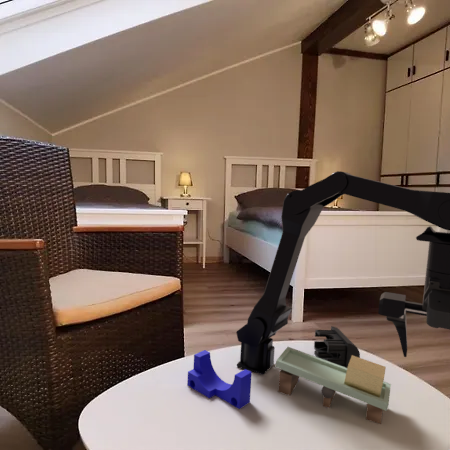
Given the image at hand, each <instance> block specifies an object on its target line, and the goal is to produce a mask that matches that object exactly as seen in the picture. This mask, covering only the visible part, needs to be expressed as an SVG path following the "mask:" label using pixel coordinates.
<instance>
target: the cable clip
mask: <svg viewBox="0 0 450 450" xmlns="http://www.w3.org/2000/svg"><path fill="white" fill-rule="evenodd" d="M252 373H253V371H249V370H246V369H243V370H241V371H240V372H237V373H236V374H234V378H233V381H232V384H231V383H228V382H226V381H224V380H223V379H222V378H221V377H220V376H219V375H218V374H217V373H216V370H215V369H214V366H213V364H212V360H211V351H208V350H206V349H204V350H202V351H199V352H197V353H195V354H194V355H193V369H191V370H189V371H187V383H186V384H187V385H188V387H189V386H190V389H193V391H196V392H198V393H199V394H201V395H202V396H205V397H206V398H208V399H211V398H213V397H214V396H216V397H217V398H219V399H221V400H223V401H225V402H226V403H228V404H230V405H231V406H233V407H235V408H236V409H238V410H240V409H242V408H244V407H245V406H247V405H248V404H249V403H251V393H252V391H251V388H252V376H253V374H252ZM187 385H186V386H187Z"/></svg>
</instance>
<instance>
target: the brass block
mask: <svg viewBox="0 0 450 450" xmlns="http://www.w3.org/2000/svg"><path fill="white" fill-rule="evenodd" d="M386 367H387V366H384V365H382V364H378V363H375V362H373V361H369V360H367V359H364V358H361V357H360V358H359V357H356V356H353V355H352V356H351V359H350V362H349V364H348V368H347V372H346V377H345V381H344V384H345V385H347V386H350V387H353V388H355V389H358V390H360V391H363V392H366V393H368V394H371V395H373V396H376V397H379V398H380V393H381V389H382V385H383V381H384V380H385V373H386ZM384 382H385V381H384Z"/></svg>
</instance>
